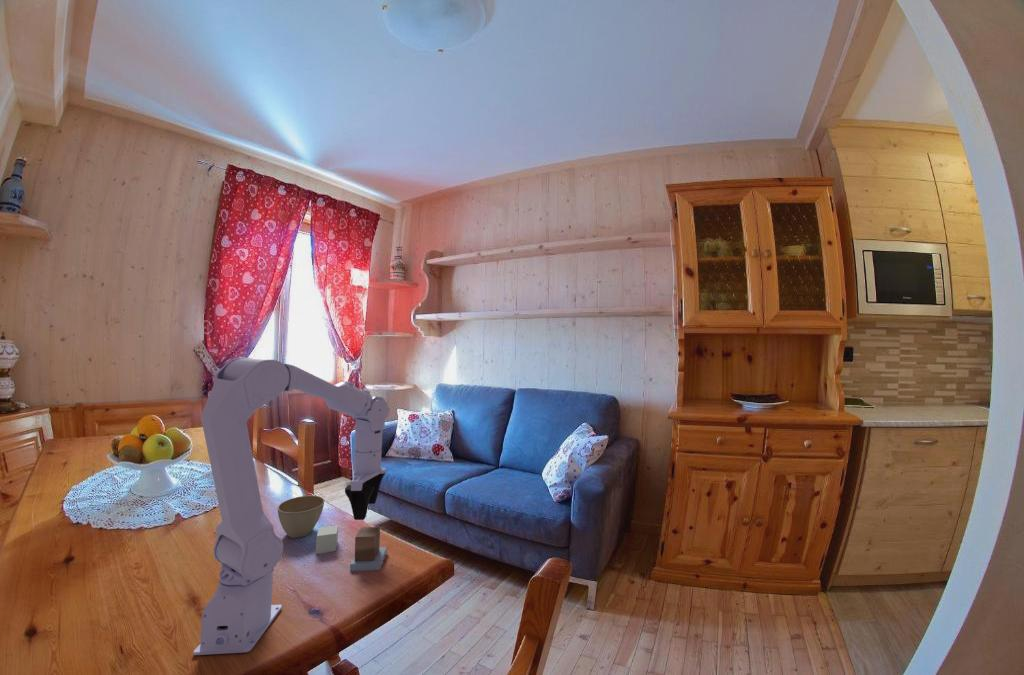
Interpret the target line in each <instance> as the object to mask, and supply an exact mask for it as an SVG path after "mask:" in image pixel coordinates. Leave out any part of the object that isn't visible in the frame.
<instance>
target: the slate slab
mask: <svg viewBox="0 0 1024 675" xmlns="http://www.w3.org/2000/svg"><path fill="white" fill-rule="evenodd" d="M387 549H388V548H387V546H379V552H378V554H377V556H376V558H375V560H372V561H355V555H354V557H353V558H352V560H351V562H350V564H349V572H359V571H360V572H362V571H364V572H365V571H381V568H382V566H383V563H384V561H383V560H385V558H386V556H385V555H387V554H386V553H387ZM381 565H382V566H381Z"/></svg>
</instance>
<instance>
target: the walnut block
mask: <svg viewBox="0 0 1024 675" xmlns="http://www.w3.org/2000/svg"><path fill="white" fill-rule="evenodd" d="M380 539H381V526H372V527H371V526H366V527H364V526H363V527H360V529H359V530H358V532H357V534H356V536H355V538H354V541H355V543H354V556H355V561H372V560H375V558H376V556H377V554H378V552H379V547H381V546H380V542H381V541H380Z"/></svg>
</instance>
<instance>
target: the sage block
mask: <svg viewBox="0 0 1024 675" xmlns="http://www.w3.org/2000/svg"><path fill="white" fill-rule="evenodd" d="M338 537H339V524H337V525H336V524H335V525H328V526H321V527H319V528H318V531H317V534H316V541H315V554H316V555H318V554H320V555H321V554H325V553H326V554H327V553H332V552H335V551H337V547H338V546H337V545H338V541H339V540H338V539H339V538H338Z"/></svg>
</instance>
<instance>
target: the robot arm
mask: <svg viewBox="0 0 1024 675" xmlns="http://www.w3.org/2000/svg"><path fill="white" fill-rule="evenodd" d="M295 390H296V391H298V392H302V393H305V394H308V395H310V396H313V397H316V398H320V399H323V400H325V404H326V406H327V408H328V409H329V410H330V409H331V410H333V411H335V412H338V413H341V414H345V415H347V416H349V417H351V418H352V419H353V420H355V425H354V426H355V428H354V448H353V450H354V451H353V469H352V471H351V475H352V476H351V477H352V480H351V482H350V483H351V484H347V486H346V487H345V488H344V494H345V495H346V496H347V499H348V501H349V503H350V506H351V511H352V517H353V519H354V520H355V521H359V520H360V521H363V520H365V519H366V517H367V512H368V508H369V505H374V504H376V501H377V498H378V495H379V492H380V487H381V484H382V481H383V478H384V476H385V475H386V472H387V467H382V453H383V452H382V449H383V448H382V447H383V429H385V428H384V427H385V425H386V419H387V417H388V416H389V413H390V411H391V410H390V407H389V406H388V403H387V401H386V399H385V398H383V397H381V396H375V395H371V391H369V390H367V389H364V390H362V389H360V388H358V387H355V383H353V382H352V381H348V380H347V381H345V382H342V381H340V382H337V383H335V384H333V383H331V382H328V381H327V380H325V379H322V378H320V377H319V376H316V375H314V374H312V373H310V372H309V371H306V370H304V369H302V368H300V367H298V366H295V365H292V364H289V363H283V362H281V361H279V360H277V359H268V358H267V359H261V358H252V357H247V356H246V357H245V356H239V357H235V358H233V359H231V360H229V361H228V362H226V363H225V364H224V365H223V366H222V367H220V369H219V370H218V371H217V372H216V373H214V374H213V386H212V388H211V391H210V393H209V396H208V398H207V400H206V403H205V405H204V407H203V410H202V412H201V417H200V419H201V424H202V428H203V435H204V439H205V444H206V450H207V453H208V458H209V464H210V467H211V468H210V469H211V474H212V478H213V483H214V484H213V485H214V487H215V493H216V498H217V502H218V508H219V512H220V513H219V514H220V517H221V521H220V522H219V523H218V524H217V525H216V527H215V531H216V539H215V542H214V545H213V549H212V550H213V551H212V552H213V556H214V559H215V560H216V561H217V562H219V563H220V571H219V578H218V584H217V587H216V591H215V592H214V594H213V596H212V597H211V598H210V600H209V601H208V602H207V603H206V605H205V606H204V608H203V611H202V615H201V627H200V628H201V630H200V643H199V645H198V646H197V647H196V648H195V649H194V650H193V656H205V655H221V654H222V655H223V654H238V653H239V654H243V653H249V652H251V651H252V649H253V648H254V647H255V646H256V644H257V643H258V642H259V640H260V638H261V637H262V636H263V635H264V634H265V631H267V629H268V628H269V626H270V625H271V624H272V622H273V620H274V619H276V617H277V615H278V614H279V613H280V611H282V608H283V604H273V603H272V602H273V600H272V599H273V584H274V583H273V582H274V571H275V568H276V566H277V565H278V563H279V562H280V560H281V558H282V555H283V552H284V542H283V540H282V539H281V538H280V536H277V534H276V532H275V530H274V525H273V523H272V522H271V520H270V519H269V517H268V516H267V515H266V513H265V512H264V510H263V503H262V499H261V495H260V494H261V493H260V488H259V482H258V477H257V473H256V472H257V471H256V466H255V460H254V456H253V450H252V445H251V440H250V434H249V429H248V425H247V424H248V420H249V419H250V418H251V417H252V416H253V415H254V413H255V412H257V410H259V409H260V408H262V407H263V406H265V405H266V404H268V403H269V402H270V401H272V400H274V399H275V398H276V397H278V396H280V395H281V394H282V393H283V392H292V391H295ZM354 520H353V521H354Z"/></svg>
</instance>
